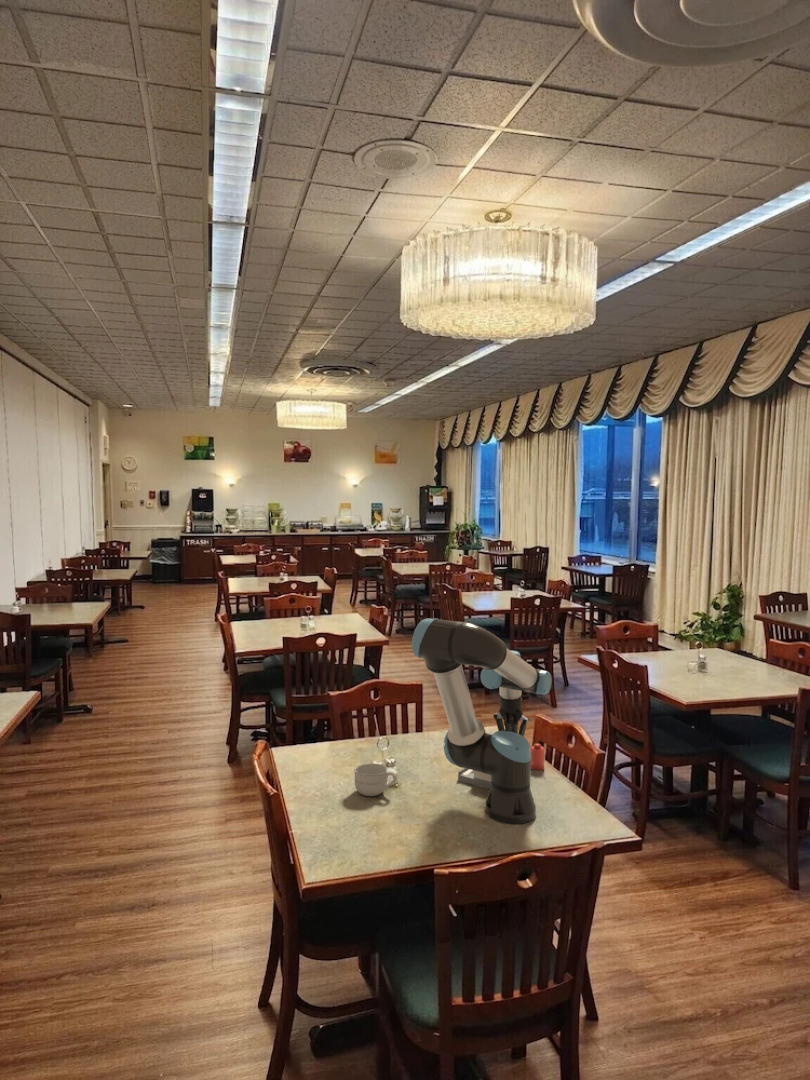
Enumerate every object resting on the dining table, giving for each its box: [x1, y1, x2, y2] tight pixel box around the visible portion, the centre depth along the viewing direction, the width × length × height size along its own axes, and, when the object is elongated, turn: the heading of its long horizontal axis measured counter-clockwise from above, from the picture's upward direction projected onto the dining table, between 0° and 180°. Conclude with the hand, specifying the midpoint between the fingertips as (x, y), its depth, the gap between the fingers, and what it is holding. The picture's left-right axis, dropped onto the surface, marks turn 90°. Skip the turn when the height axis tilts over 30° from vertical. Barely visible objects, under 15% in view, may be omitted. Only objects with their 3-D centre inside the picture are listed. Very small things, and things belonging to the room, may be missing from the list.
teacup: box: [353, 762, 398, 797], centre depth 211 cm, size 14×11×8 cm
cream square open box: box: [474, 771, 491, 782], centre depth 219 cm, size 9×9×6 cm
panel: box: [457, 768, 491, 790], centre depth 227 cm, size 15×26×3 cm, turn 145°
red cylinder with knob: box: [530, 743, 545, 771], centre depth 231 cm, size 5×5×8 cm
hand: (512, 763), depth 226 cm, fingers closed
